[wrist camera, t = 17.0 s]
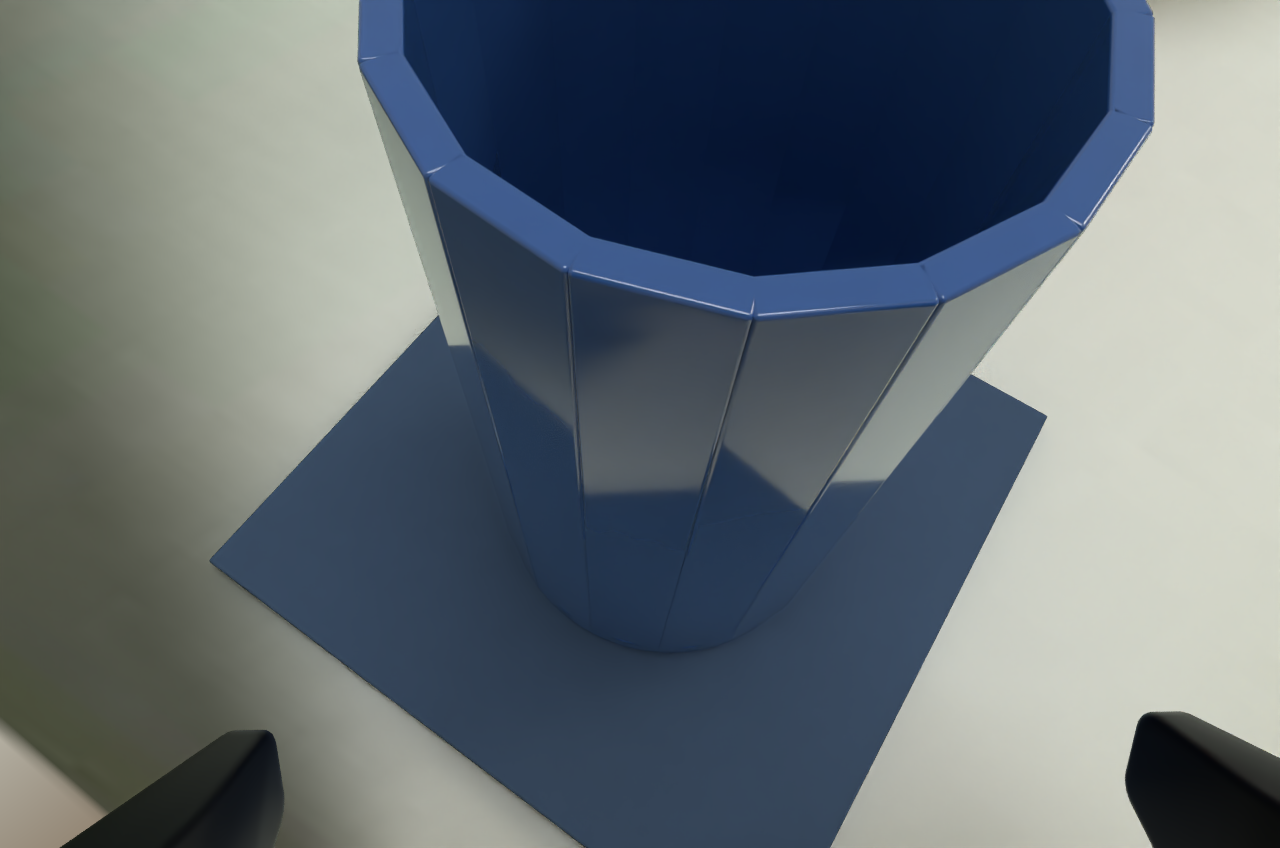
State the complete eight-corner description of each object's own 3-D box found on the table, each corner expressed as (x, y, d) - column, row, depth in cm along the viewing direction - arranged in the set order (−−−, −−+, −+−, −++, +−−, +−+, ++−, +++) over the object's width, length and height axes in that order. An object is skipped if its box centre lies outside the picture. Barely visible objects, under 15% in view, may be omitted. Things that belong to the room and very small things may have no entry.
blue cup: (854, 631, 18) (1301, 270, 7) (519, 673, 18) (348, 355, 6) (787, 346, 21) (1009, -248, 10) (500, 372, 21) (362, -229, 9)
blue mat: (759, 978, 16) (762, 982, 15) (214, 565, 19) (207, 560, 18) (1040, 422, 21) (1048, 415, 21) (582, 170, 24) (581, 160, 24)
